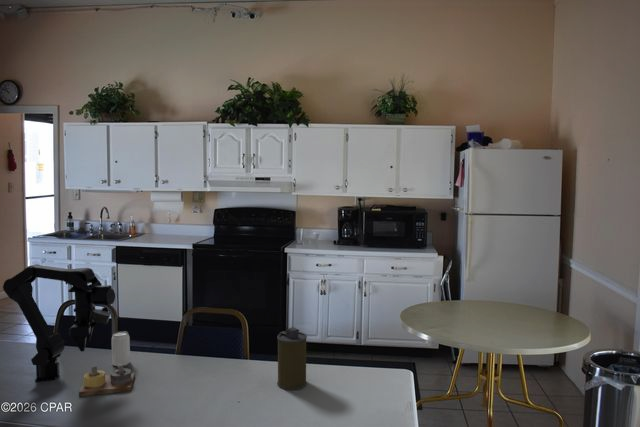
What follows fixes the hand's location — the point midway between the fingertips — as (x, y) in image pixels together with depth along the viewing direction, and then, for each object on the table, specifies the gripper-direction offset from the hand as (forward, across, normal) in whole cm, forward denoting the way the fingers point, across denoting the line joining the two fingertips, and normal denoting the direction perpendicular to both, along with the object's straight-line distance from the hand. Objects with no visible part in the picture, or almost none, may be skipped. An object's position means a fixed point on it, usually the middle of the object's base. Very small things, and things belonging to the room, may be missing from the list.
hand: (85, 346), depth 168 cm
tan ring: (+10, -8, -4) cm, 14 cm away
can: (+12, +12, -10) cm, 20 cm away
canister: (+12, -22, -71) cm, 75 cm away
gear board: (+12, -8, -8) cm, 17 cm away
